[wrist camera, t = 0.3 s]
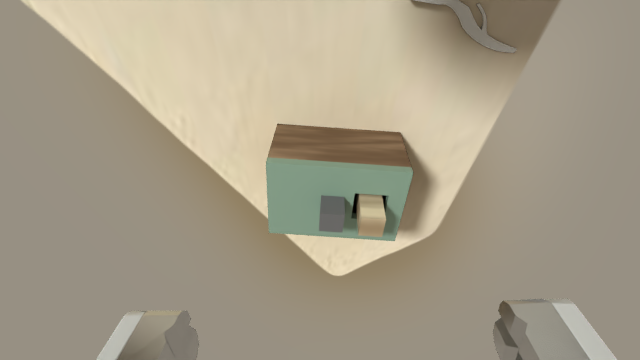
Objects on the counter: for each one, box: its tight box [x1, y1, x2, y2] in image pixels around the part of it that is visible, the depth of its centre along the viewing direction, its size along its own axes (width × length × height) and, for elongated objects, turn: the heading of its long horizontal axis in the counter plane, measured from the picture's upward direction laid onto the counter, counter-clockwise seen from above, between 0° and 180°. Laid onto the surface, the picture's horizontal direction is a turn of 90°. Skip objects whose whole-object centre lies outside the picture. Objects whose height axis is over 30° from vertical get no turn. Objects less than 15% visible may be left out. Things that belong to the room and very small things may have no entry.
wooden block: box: [355, 193, 386, 237], centre depth 47 cm, size 3×3×13 cm
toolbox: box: [268, 124, 411, 213], centre depth 49 cm, size 12×18×9 cm, turn 87°
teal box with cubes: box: [266, 157, 413, 241], centre depth 44 cm, size 12×18×6 cm, turn 87°
